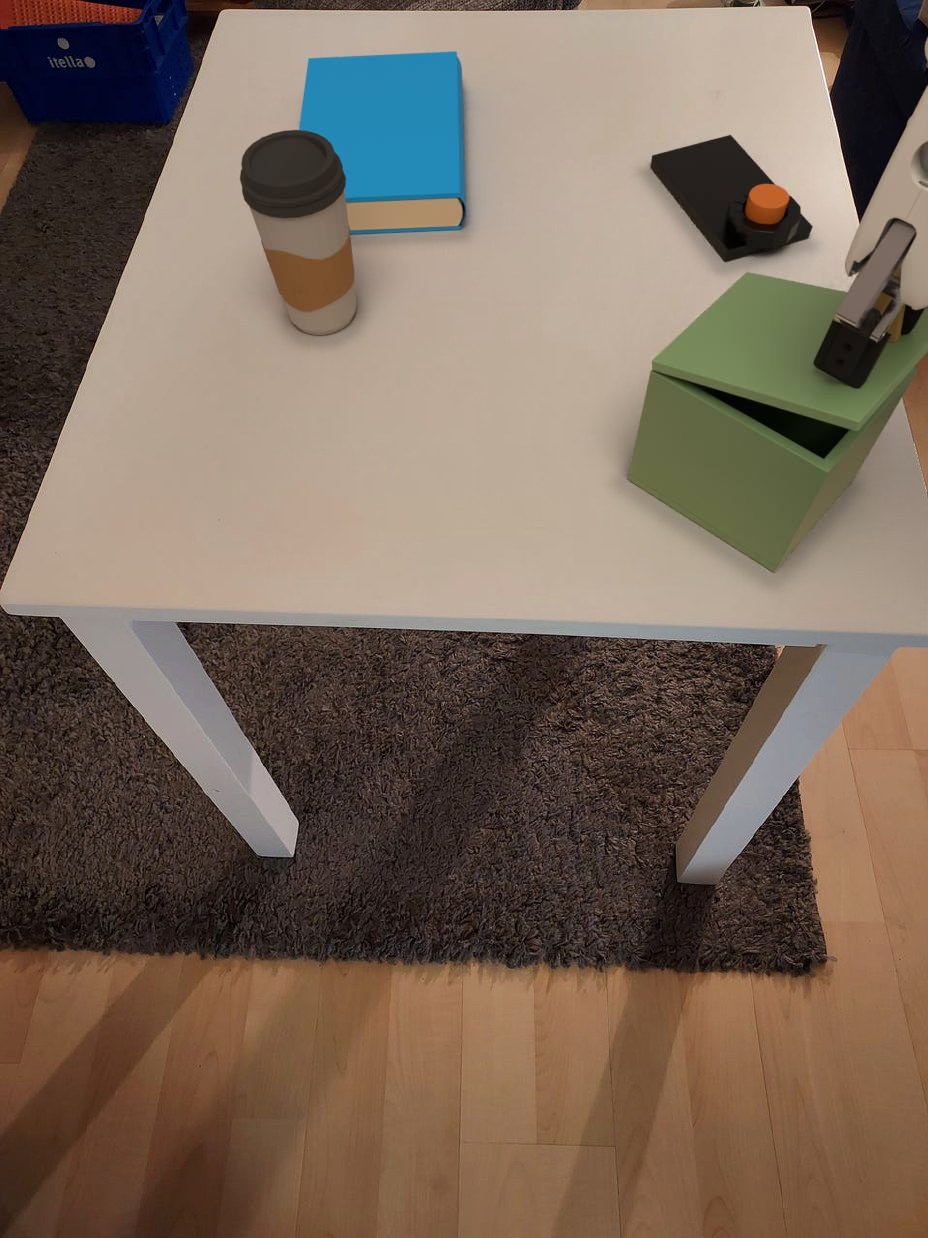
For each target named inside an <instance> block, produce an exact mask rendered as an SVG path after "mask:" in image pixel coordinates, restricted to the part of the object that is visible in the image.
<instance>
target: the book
mask: <svg viewBox="0 0 928 1238" xmlns="http://www.w3.org/2000/svg"><path fill="white" fill-rule="evenodd" d="M463 89H464V88H463V66H462V63H461V60H460V58H459V57H458V51H457V50H456V51H434V52H415V53H391V54H370V55H347V56H328V57H308V59H307V66H306V74H305V82H304V88H303V96H302V104H301V109H300V110H301V111H300V116H299V117H300V118H299V126H298V130H303V131H310V132H313V133H317V134H319V135H321V136H323V137H325V138H326V139H327V140H328V141H329V142H330V143H331V144H332V146H333V149H334V151H335V153H336V154H337V155H338V156H339V158H340V160H341V163H342V166H343V171H344V174H345V176H346V186H345V197H346V207H347V216H348V225H349V228H350V235H364V234H365V235H366V234H391V233H414V232H436V231H437V232H438V231H460V230H462V226H463V224H464V222H465V221H466V220H465V219H466V216H467V215H466V214H467V213H466V212H467V210H466V208H467V207H466V206H467V205H466V174H465V173H466V171H465V132H464V130H465V129H464V98H463V97H464V95H463V94H464V93H463V91H464V90H463Z"/></svg>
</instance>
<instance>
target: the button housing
mask: <svg viewBox="0 0 928 1238" xmlns="http://www.w3.org/2000/svg"><path fill="white" fill-rule="evenodd" d="M649 167H650V169H651V171H652V172H653V173H654V174H655V175H656V176H657V178H658V179H659V180H660V182H661V183H662V184H663V185H664V187H665V188H666V189H667V190H668V192H669V193H670V194H671V196H672V197H673V198H674V200H675V201H676V202H677V203H678V204H679V206H680V207H681V208H682V210H683V211H684V212H685V214H686V215H687V216H688V217H689V218H690V220H691V221H692V223H693V224H694V225H695V226H696V228H697V229H698V230H699V231H700V232H701V234H702V235H703V236H704V238H705V239H706V241H708V243H709V244H710V246H712V248H713V249H714V250H715V252H716V253H717V254H718V256H719V257H720V258H721V259H722V260H723V262H724V263H727V262H730V261H734V260H736V259H741V258H744V257H749V256H751V255H755V254H759V253H762V252H766V251H769V250H772V249H775V248H779V247H783V246H787V245H790V244H794V243H797V242H800V241H804V240H808V239H809V238H810V235H811V233H812V230H813V228H814V227H813V225H812V224H811V223H810V222H809V221H808V219H807V218H806V217H805V216H804V215H803V214H802V209H801V208H802V207H801V204H799V203H798V202H797V201H796V200H795V199H794V197H793V196H792V195H790V194H789V201H788V204H787V207H786V210H785V214H784V217H783V218H782V220H780V221H779V222H777V223H774V224H759V223H757V222H755V221H752V220H750V219H748V218H747V216H746V214H745V207H746V204H747V200H748V197H749V193H750V191H751V190H752V188H754V187H755V186H757V185H761V184H773V185H776V184H775V182H774V181H773V180H772V179H771V178H770V177H769V175H768V174H766V172H765V171H764V170H763V169H762V168H761V167H760V166H759V164H758V163H757V162H756V161H755V160H754V159H753V158H752V156H750V154H748V152H747V151H746V149H744V147H742V146H741V145H740V143H739V142H738V141H737V140H736V139H735V137H733V135H732V134H727V135H724V136H721V137H720V136H719V137H716V138H713V139H709V140H706V141H705V140H704V141H702V142H698V143H693V144H690V145H687V146H683V147H679V148H675V149H672V150H667V151H664V152H660V153H656V154H652V155H651V161H650V166H649Z"/></svg>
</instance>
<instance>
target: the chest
mask: <svg viewBox="0 0 928 1238" xmlns="http://www.w3.org/2000/svg"><path fill="white" fill-rule="evenodd" d="M918 371H919V369H918V368H917V367H915V366H914V368H913V369H912V370H911V371H910V372H909V373H908V374H907V376H906V377H905V378H904V379H903V380H902V381H901V383H900V384H899V385H898V386H897V387H896V388H895V389H894V391H893V392H892V393H891V394H890V395H889V396H888V397H887V399H886V400H885V401H884V402H883V403H882V404H881V405H880V407H879V408H878V409H877V410H876V411H875V412H874V413H873V415H872V416H871V417H870V418H869V419H868V420H867V421H866V423H865V424H864V425H863V426H862V427H861V428H860V429H859V431H854V430H850V429H847V428H844V427H840V426H837V425H834V424H830V423H827V422H824V421H820V420H817V419H814V418H810V417H807V416H804V415H800V414H797V413H794V412H790V411H787V410H784V409H780V408H777V407H774V406H770V405H767V404H764V403H760V402H757V401H754V400H750V399H747V398H744V397H740V396H737V395H734V394H730V393H727V392H724V391H720V390H717V389H714V388H710V387H707V386H704V385H700V384H697V383H694V382H690V381H687V380H684V379H680V378H677V377H674V376H670V375H667V374H664V373H660V372H657V371H654V370H652V369H651V370H650V372H649V377H648V382H647V387H646V391H645V396H644V401H643V405H642V410H641V414H640V420H639V423H638V424H639V425H638V428H637V434H636V438H635V444H634V447H633V452H632V456H631V461H630V467H629V471H628V474H627V475H628V476H627V480H628V481H629V482H631V483H632V484H634V485H635V486H637V487H639V488H640V489H642V490H643V491H645V492H647V493H648V494H650V495H651V496H653V497H654V498H656V499H657V500H659V501H661V502H662V503H664V504H665V505H666V506H668V507H670V508H672V509H673V510H675V511H676V512H678V513H679V514H681V515H683V516H684V517H686V518H687V519H689V520H691V521H692V522H693V523H695V524H696V525H698V526H700V527H701V528H703V529H704V530H706V531H708V532H710V533H711V534H713V535H714V536H715V537H717V538H719V539H721V540H722V541H723V542H725V543H727V544H729V545H730V546H731V547H733V548H734V549H736V550H738V551H739V552H741V553H743V554H744V555H745V556H747V557H749V558H750V559H752V560H754V561H755V562H756V563H758V564H760V565H762V566H763V567H764V568H766V569H767V570H769V571H771V572H772V573H776V572H777V571H778V569H779V568H780V567H781V566H782V565H783V564H784V563H785V561H786V560H787V559H788V558H789V556H791V554H792V553H793V552H794V551H795V549H796V548H797V547H798V546H799V544H800V543H801V542H802V541H803V540H804V539H805V538H806V536H807V535H808V534H809V533H810V532H811V531H812V529H813V528H814V527H815V526H816V525H817V524H818V522H819V521H820V520H821V519H822V518H823V516H825V514H826V513H827V512H828V511H829V509H830V508H831V507H832V506H833V504H835V503H836V501H837V500H838V499H839V498H840V496H841V495H842V494H843V493H844V492H845V490H846V489H847V488H848V487H849V486H850V485H851V484H852V482H853V481H854V480H855V478H856V477H857V474H858V473H859V471H860V469H861V468H862V466H863V464H864V463H865V461H866V459H867V458H868V456H869V454H870V453H871V451H872V449H873V448H874V446H875V444H876V443H877V441H878V439H879V437H880V435H881V433H882V432H883V430H884V428H885V427H886V426H887V423H888V422H889V420H890V418H891V417H892V415H893V414H894V412H895V410H896V408H897V406H898V405H899V403H900V402H901V400H902V398H903V396H904V394H905V393H906V392H907V390H908V388H909V386H910V384H911V383H912V382H913V379H914V378H915V376H916V374H917V372H918Z"/></svg>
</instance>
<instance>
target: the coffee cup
mask: <svg viewBox="0 0 928 1238" xmlns="http://www.w3.org/2000/svg"><path fill="white" fill-rule="evenodd" d="M240 164H241V165H240V166H241V169H240V175H239V181H240V184H241V193H242V197H243V200H244V202H245V203H246V204H247V206H248V207H249V209H250V212H251V216H252V218H253V220H254V224H255V226H256V230H257V232H258V235H259V237H260V243H261V245H262V249H263V251H264V254H265V257H266V259H267V263H268V264H269V269H270V270H271V274H272V277H273V279H274V282H275V285H276V288H277V291H278V293H279V294H280V296H281V299H282V301H283V305H284V307H285V311H286V313H287V315H288V318H289V320H290V321H291V322H292V324H293V325H295V326H296V328H297V329H299V330H301V331H302V332H304V333H305V334H309V335H314V336H326V335H330V334H335V333H338V332H339V331H341V330H343V329H345V328H346V327H347V326H349V323H351V321H352V320H353V318H354V315H355V313H356V311H357V295H356V293H357V292H356V284H355V268H354V257H353V247H352V238H351V237H352V236H351V234H350V228H349V225H348V216H347V207H346V197H345V186H346V176H345V174H344V171H343V166H342V163H341V160H340V158H339V156H338V155H337V154H336V153H335V151H334V149H333V146H332V144H331V143H330V142H329V141H328V140H327V139H326V138H325V137H323V136H321V135H319V134H317V133H313V132H310V131H303V130H299V129H287V130H281V131H277V132H276V131H275V132H272V133H269V134H267V135H265V136H262V137H260V138H259V139H257V140H255V141H254V142H252V143H251V144H250V145H249V146H248V147H247V148H246V149H245V151H244V153H243V155H242V157H241V163H240Z"/></svg>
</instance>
